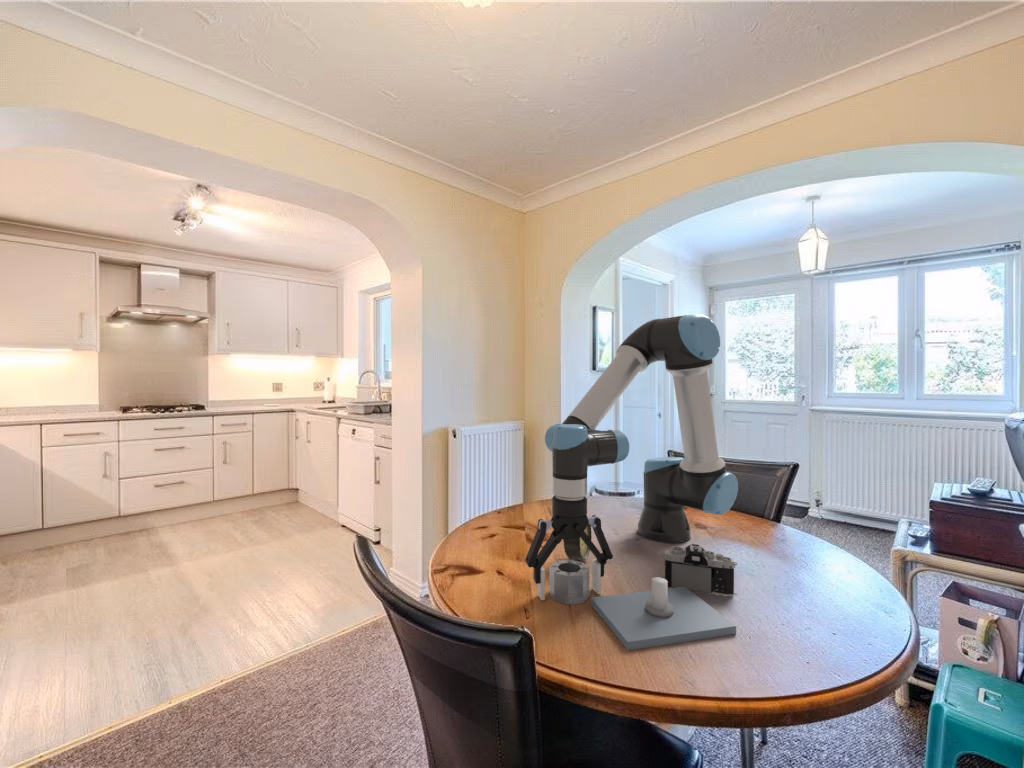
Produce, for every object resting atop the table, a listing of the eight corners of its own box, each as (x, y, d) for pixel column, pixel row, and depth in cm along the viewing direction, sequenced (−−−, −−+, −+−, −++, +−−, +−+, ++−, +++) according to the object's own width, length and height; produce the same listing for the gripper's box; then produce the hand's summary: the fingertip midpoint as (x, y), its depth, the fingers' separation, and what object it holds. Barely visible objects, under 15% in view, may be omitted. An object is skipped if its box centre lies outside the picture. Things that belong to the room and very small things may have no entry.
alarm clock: (580, 572, 109) (581, 506, 109) (559, 568, 111) (559, 503, 111) (592, 555, 119) (592, 495, 119) (573, 552, 121) (573, 492, 121)
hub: (579, 584, 103) (579, 558, 102) (593, 601, 95) (593, 573, 95) (546, 588, 101) (546, 561, 101) (557, 606, 93) (557, 577, 93)
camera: (733, 582, 104) (734, 540, 103) (738, 601, 95) (738, 554, 95) (663, 572, 109) (663, 531, 109) (661, 589, 101) (662, 545, 100)
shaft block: (684, 593, 99) (684, 559, 98) (736, 634, 83) (736, 593, 83) (591, 604, 94) (591, 569, 93) (627, 650, 78) (627, 607, 78)
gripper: (613, 488, 104) (612, 580, 104) (511, 494, 98) (511, 591, 99) (628, 497, 96) (628, 596, 97) (519, 504, 91) (519, 609, 91)
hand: (569, 594), depth 98 cm, fingers open, 12 cm apart
